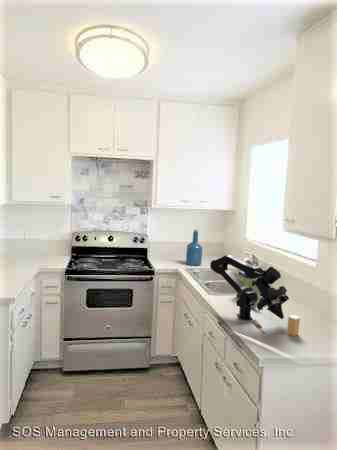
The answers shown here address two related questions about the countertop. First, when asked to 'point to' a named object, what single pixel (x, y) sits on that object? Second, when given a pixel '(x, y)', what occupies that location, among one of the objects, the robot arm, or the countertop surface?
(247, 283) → the protein box
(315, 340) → the countertop surface
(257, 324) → the wooden handled tool
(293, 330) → the lidded box
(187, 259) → the wine bottle
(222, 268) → the robot arm
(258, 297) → the lighter
